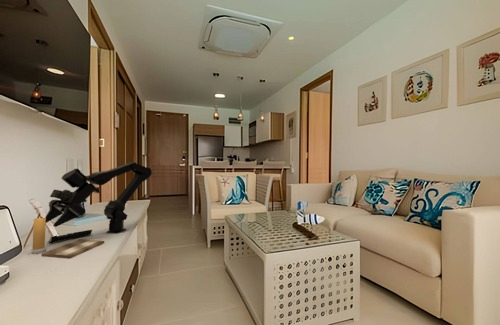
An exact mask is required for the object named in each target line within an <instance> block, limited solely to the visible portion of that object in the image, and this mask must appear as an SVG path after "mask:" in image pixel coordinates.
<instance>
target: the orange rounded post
mask: <svg viewBox="0 0 500 325" xmlns="http://www.w3.org/2000/svg"><path fill="white" fill-rule="evenodd" d="M32 226H33V230H32V231H33V232H32V248H31V250H30V251H31V253H30V254H32V255H38V254H41V253H44V252H47V251H46V249H47V248H46V226H47V225H46V218H45V217H37V218H34V219H33V225H32Z"/></svg>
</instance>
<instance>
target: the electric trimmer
mask: <svg viewBox="0 0 500 325" xmlns="http://www.w3.org/2000/svg"><path fill="white" fill-rule="evenodd" d="M92 232H93V229H87V230H82V231H75V232H70V233H65V234H60V235H56V236H55V235H54V236H51V237H49V238H50V239H49V240H48V244H51V245H52V244H55V243H58V242H62V241H67V240H71V239H73V240H75V239H79V238H80V239H81V238H83V237H87V236H89V235H90V236H91V234H92Z"/></svg>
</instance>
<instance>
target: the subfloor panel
mask: <svg viewBox="0 0 500 325" xmlns="http://www.w3.org/2000/svg"><path fill="white" fill-rule="evenodd" d="M103 244H105V240H101V239H100V240H99V239H83V238H80V239H79V238H78V239H77V240H74V241H71V242H69V243H66V244H63V245H60V246H57V247H55V248H53V249H49V250H47V251H45V252H43V253H40V256H41V257H46V258H47V257H48V258H49V257H50V258H59V259H72V258H75V257H77V256H79V255H81V254H83V253H85V252H87V251H90V250H92V249H94V248H96V247H99V246H102V245H103Z"/></svg>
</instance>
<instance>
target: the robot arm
mask: <svg viewBox="0 0 500 325" xmlns="http://www.w3.org/2000/svg"><path fill="white" fill-rule="evenodd" d="M128 172H133V173H134V174H133V178H132V180H131V181H130V182H129V183H128V185H126V187H125V188H124V190H122V192H121V193H120V195H119V196H118V197H117V198H116V199H115V200H109V201H108V203H107V204H106V205H105V206H104V210H103V214H104V215H105V216H106V218H107V220H109V224H108V230H107V231H106V233H110V234H119V233H121V232H124V231H126V230H127V228H124V222H125V221H126V220H127V218H128V214H126V213H125V212H124V211H125V210H126V204H127V203H128V201H129V200H130V199H131V198H132V196H133V195H134V194H135V192H137V189H138V188H139V187H140V185H141V184H142V183H143V182H145V181H147V180H148V179H149V178H150V177H151V176H152V174H153V172H152V169H151V168H150V167H148V166H147V167H146V166H143V165H140V164H138V163H137V162H134V161H133V162H131V161H130V162H129V161H128V162H127V163H125V164H122V165H120V166H117V167H114V168H111V169H109V170H103V171H96V172H91V173H90V174H89V175H85V174H84V173H82V171H81V170H80V169H79V168H73V169H72V170H70V171H68V172H66V173H64V174H63V175H62V177H61V180H62V181H64V182H65V183H66V184H68V186H70V187H71V188H73V189H74V188H76V189H75V190H74V191H71V190H68V189H64V190H59V189H53V190H52V193H50V195H49V197H50V198H55V199H51V200H50V201H49V202H48V207H49V210H48V213H47V214H46V215H45V216H44V218H46V223H49V222H51V221H52V220H54V219H56V218H57V219H56V221H55V222H54V224H53V227H54V228H55V227H56V228H57V227H59V226H61V225H62V224H64V223H67V222H69V221H72V220H74V219H76V218H79V217H83V216H84V215H85V214H86V209H85V208H84V207H83V206H81V205H82V204H83V203H87V202H88V200H87V199H88V198H89V197H90V196H91V195H92V194H93V193H94V194H100V187H98V186H103V185H105V184H107V183H109V182H110V181H112V179H113V178H115V177H118V176H121V175H123V174H125V173H128ZM58 217H59V218H58Z"/></svg>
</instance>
